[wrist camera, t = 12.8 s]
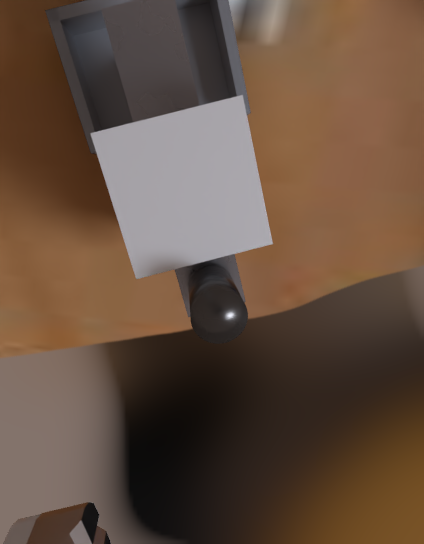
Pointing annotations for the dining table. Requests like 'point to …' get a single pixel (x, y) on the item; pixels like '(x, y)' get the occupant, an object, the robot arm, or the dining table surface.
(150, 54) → the shaft
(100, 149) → the block
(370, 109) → the dining table surface
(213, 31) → the tray
